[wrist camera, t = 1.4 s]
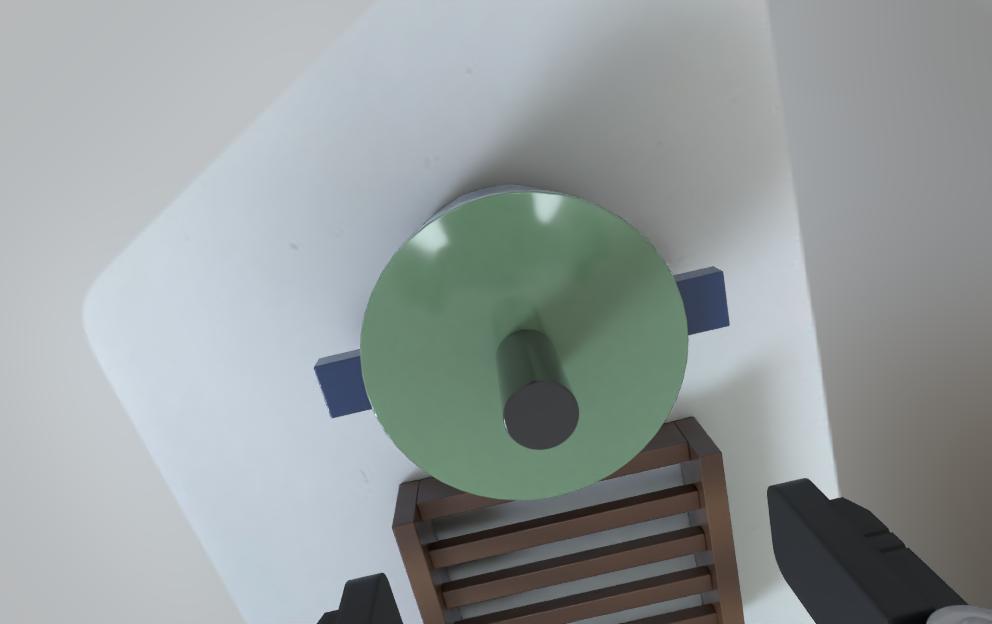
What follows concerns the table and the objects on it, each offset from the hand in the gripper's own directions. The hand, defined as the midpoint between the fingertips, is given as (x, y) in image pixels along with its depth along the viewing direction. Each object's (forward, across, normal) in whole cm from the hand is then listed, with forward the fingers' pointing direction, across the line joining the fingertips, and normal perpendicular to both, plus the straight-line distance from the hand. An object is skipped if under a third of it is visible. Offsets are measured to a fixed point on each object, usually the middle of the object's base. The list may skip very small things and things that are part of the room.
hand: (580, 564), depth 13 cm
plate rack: (+21, 0, +17) cm, 27 cm away
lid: (+12, 0, 0) cm, 12 cm away
